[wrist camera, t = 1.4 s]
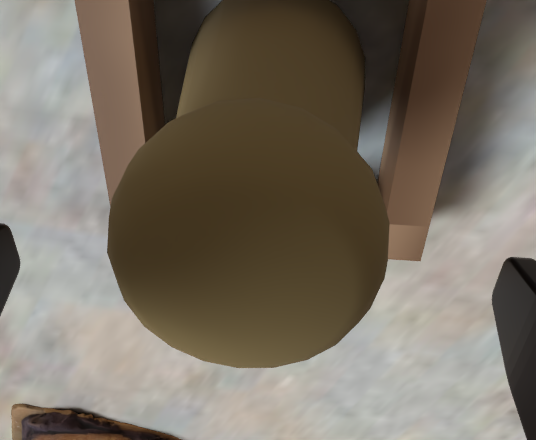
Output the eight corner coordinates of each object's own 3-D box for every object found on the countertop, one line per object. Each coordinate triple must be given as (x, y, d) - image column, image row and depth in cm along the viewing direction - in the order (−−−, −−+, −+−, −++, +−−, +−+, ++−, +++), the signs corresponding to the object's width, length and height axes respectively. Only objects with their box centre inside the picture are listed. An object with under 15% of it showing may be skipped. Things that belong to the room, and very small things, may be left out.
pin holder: (483, -108, 14) (513, -106, 12) (409, 221, 20) (420, 261, 18) (90, -123, 14) (53, -122, 12) (136, 204, 21) (116, 241, 19)
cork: (220, -52, 15) (87, 55, 6) (399, 28, 16) (515, 225, 7) (168, 122, 18) (31, 359, 9) (319, 180, 19) (328, 448, 10)
